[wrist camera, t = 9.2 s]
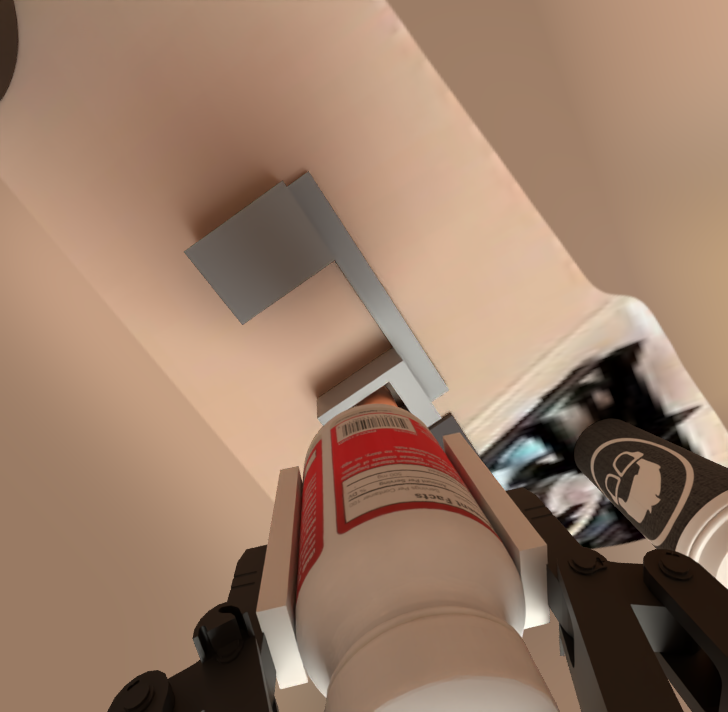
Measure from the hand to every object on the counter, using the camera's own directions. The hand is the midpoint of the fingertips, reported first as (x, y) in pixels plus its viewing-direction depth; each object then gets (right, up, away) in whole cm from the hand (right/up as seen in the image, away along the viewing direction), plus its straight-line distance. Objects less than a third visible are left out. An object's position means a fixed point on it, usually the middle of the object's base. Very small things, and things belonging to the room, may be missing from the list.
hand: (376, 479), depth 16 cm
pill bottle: (0, 0, +2) cm, 2 cm away
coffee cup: (+24, -4, +23) cm, 33 cm away
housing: (-3, +8, +16) cm, 18 cm away
